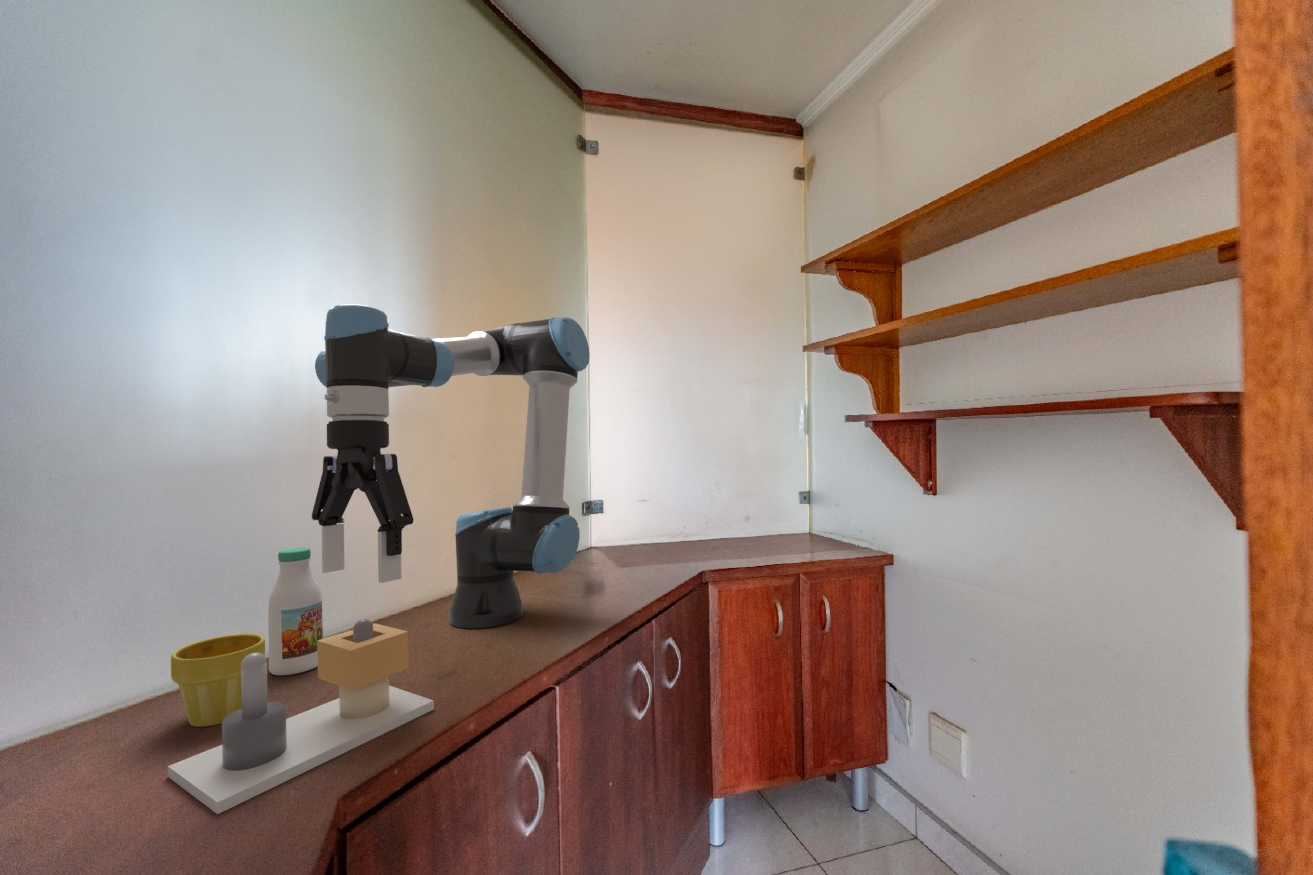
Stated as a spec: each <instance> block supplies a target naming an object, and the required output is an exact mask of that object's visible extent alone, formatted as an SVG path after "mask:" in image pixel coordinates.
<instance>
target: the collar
mask: <svg viewBox="0 0 1313 875" xmlns="http://www.w3.org/2000/svg"><path fill="white" fill-rule="evenodd" d="M372 624H373V638H371V639H368V640H365V641H362V642H359V643H355V642H353V629H352V630H347V631H344V632H340V633H338V634H335V635H331V636H328V637H323V639H321V640H317V655H318V666H317V678H318V679H320V680H322V681H324V682H328V683H330V684H332V685H333V684H334V685H336V686H338V687H339V686H341V687H343V688H346V689H349V690H354V689H356V688H359V687H361V686H364V685H366V684H369V683H371V682H374V681H377V680H379V679H382V678H384V677H387V676H389V677H390V676H392V675H394V674H396V673H400V672H402V671H404V670H407V669H409V668H410V662H409V661H410V658H409V631H408V630H403V629H400V628H396V627H391V626H387V625H383V624H379V623H372Z"/></svg>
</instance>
